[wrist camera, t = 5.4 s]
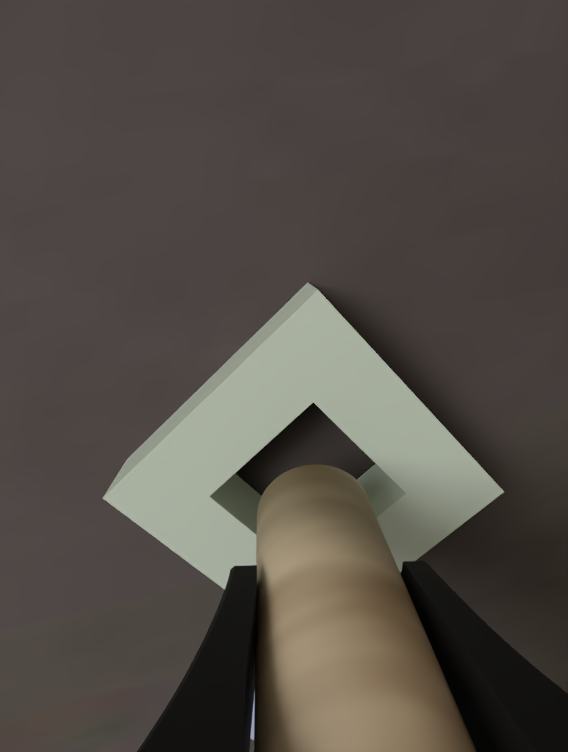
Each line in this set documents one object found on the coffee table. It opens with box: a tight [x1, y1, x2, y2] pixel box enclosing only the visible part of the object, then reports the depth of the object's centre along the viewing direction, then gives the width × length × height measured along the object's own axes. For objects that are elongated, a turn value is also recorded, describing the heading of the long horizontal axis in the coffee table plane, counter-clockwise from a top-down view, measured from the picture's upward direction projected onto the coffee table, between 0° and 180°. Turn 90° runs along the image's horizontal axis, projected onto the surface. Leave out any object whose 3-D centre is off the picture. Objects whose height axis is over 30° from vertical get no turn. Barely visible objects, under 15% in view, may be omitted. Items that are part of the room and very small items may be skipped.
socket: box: [103, 283, 504, 589], centre depth 17 cm, size 11×11×3 cm
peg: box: [254, 464, 477, 752], centre depth 10 cm, size 4×4×9 cm
